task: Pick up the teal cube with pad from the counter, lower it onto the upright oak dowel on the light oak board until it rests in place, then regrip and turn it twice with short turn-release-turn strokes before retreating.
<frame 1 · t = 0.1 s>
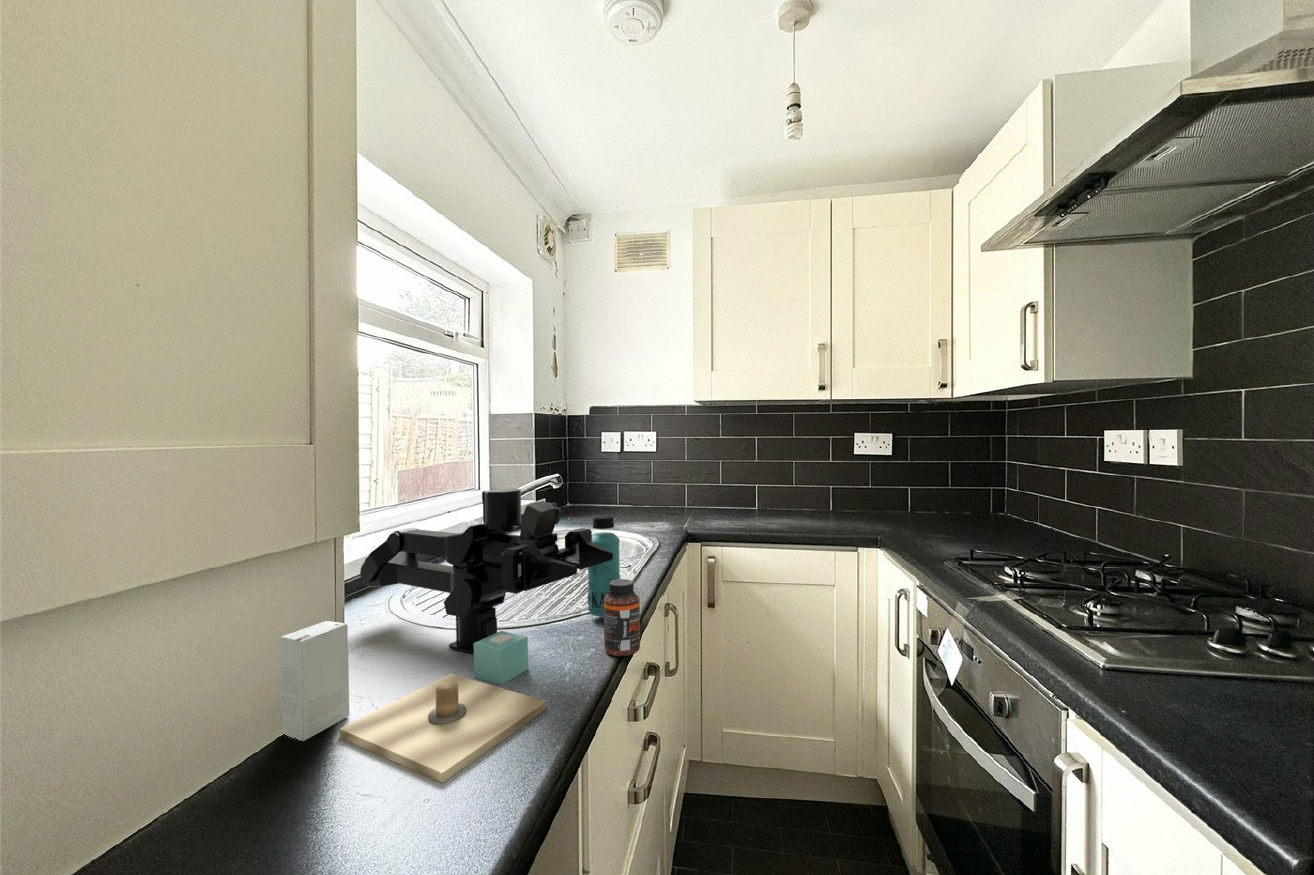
hand: (595, 563, 76), 17 cm above the countertop, tool horizontal, fingers open, 9 cm apart
supplement bottle: (622, 651, 84), on the countertop
beverage bottle: (604, 620, 99), on the countertop
skincare box: (316, 728, 63), on the countertop
teal cube with pad: (501, 673, 77), on the countertop
post board: (447, 722, 64), on the countertop
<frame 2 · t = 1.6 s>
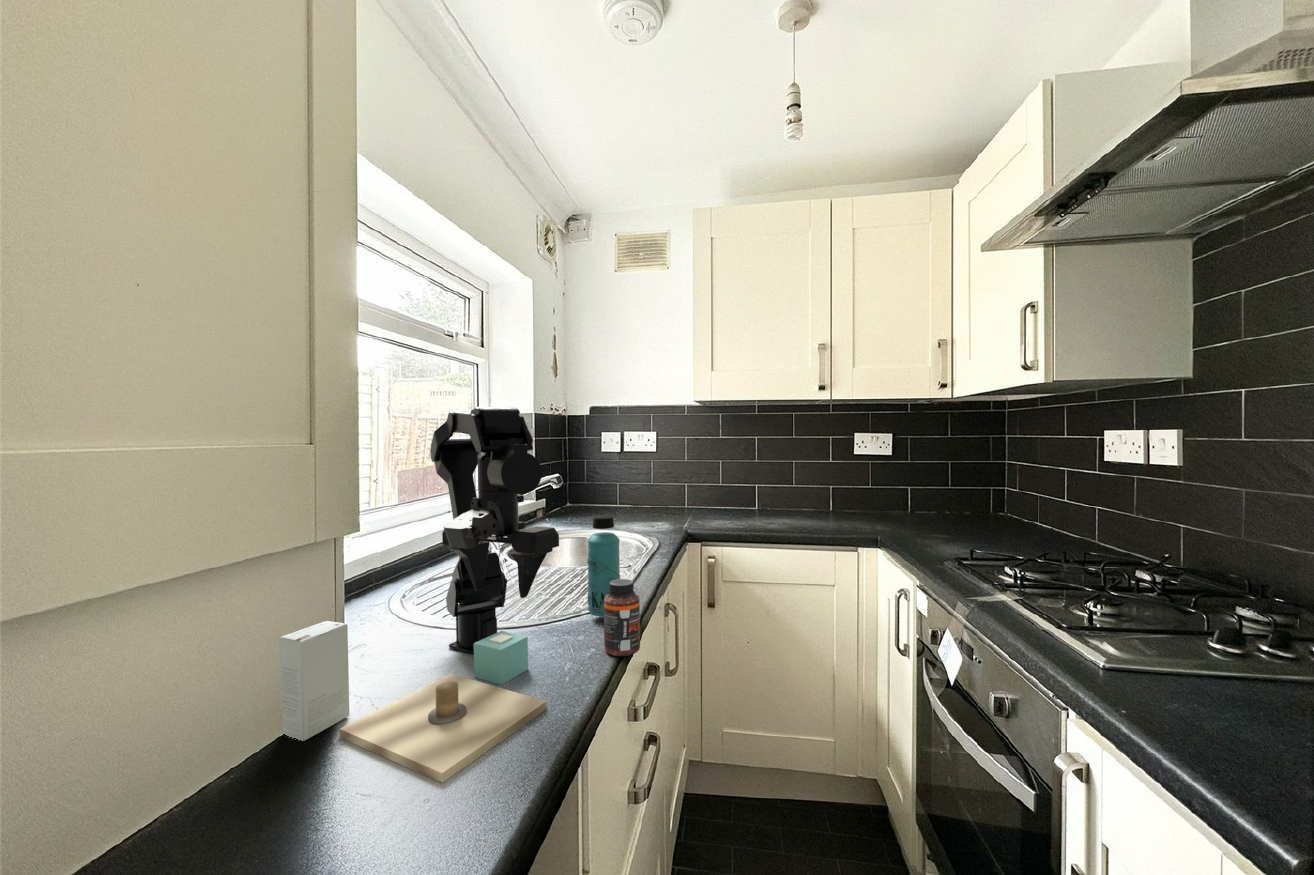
hand: (500, 593, 77), 12 cm above the countertop, tool pointing down, fingers open, 9 cm apart
nothing on the countertop moved.
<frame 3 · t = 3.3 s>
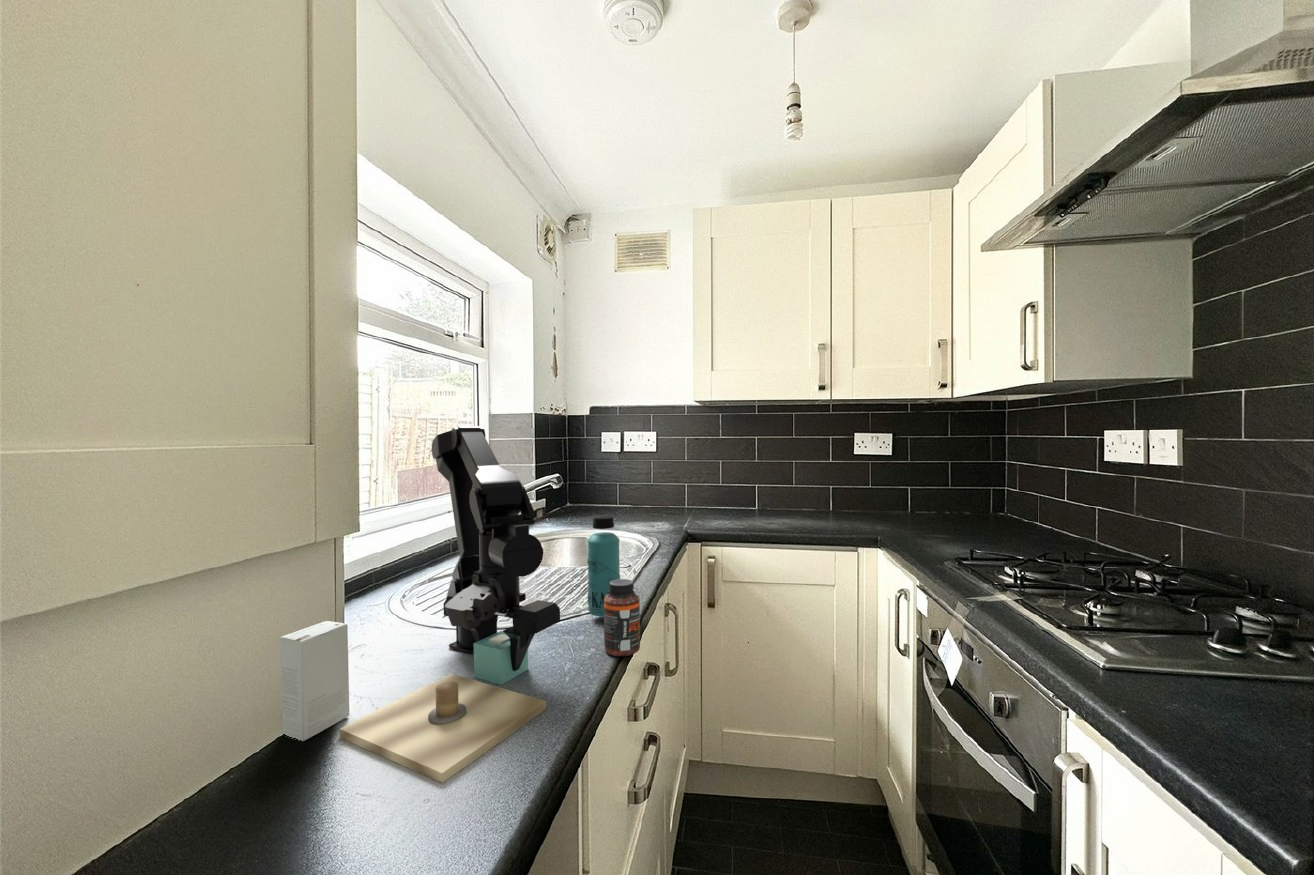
hand: (501, 666, 77), 1 cm above the countertop, tool pointing down, fingers closed on teal cube with pad, 5 cm apart
teal cube with pad: (501, 673, 77), on the countertop, touching gripper
everything else where it was.
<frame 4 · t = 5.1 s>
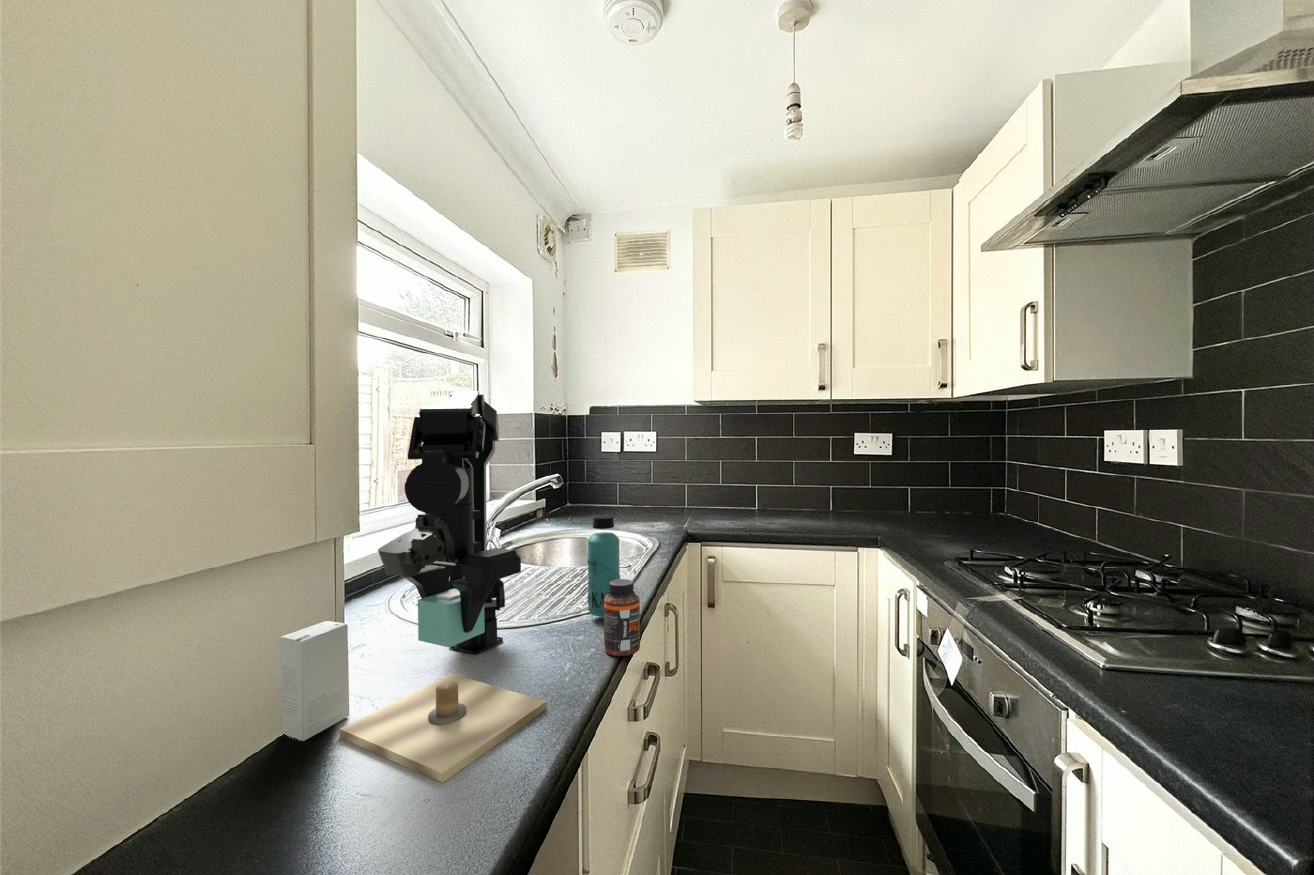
hand: (451, 628, 64), 11 cm above the countertop, tool pointing down, fingers closed on teal cube with pad, 5 cm apart
teal cube with pad: (452, 636, 64), point 10 cm above the countertop, touching gripper
everything else where it was.
when the fingers open (3 cm above the countertop, at t = 6.9 s): teal cube with pad stays where it is, resting on post board.
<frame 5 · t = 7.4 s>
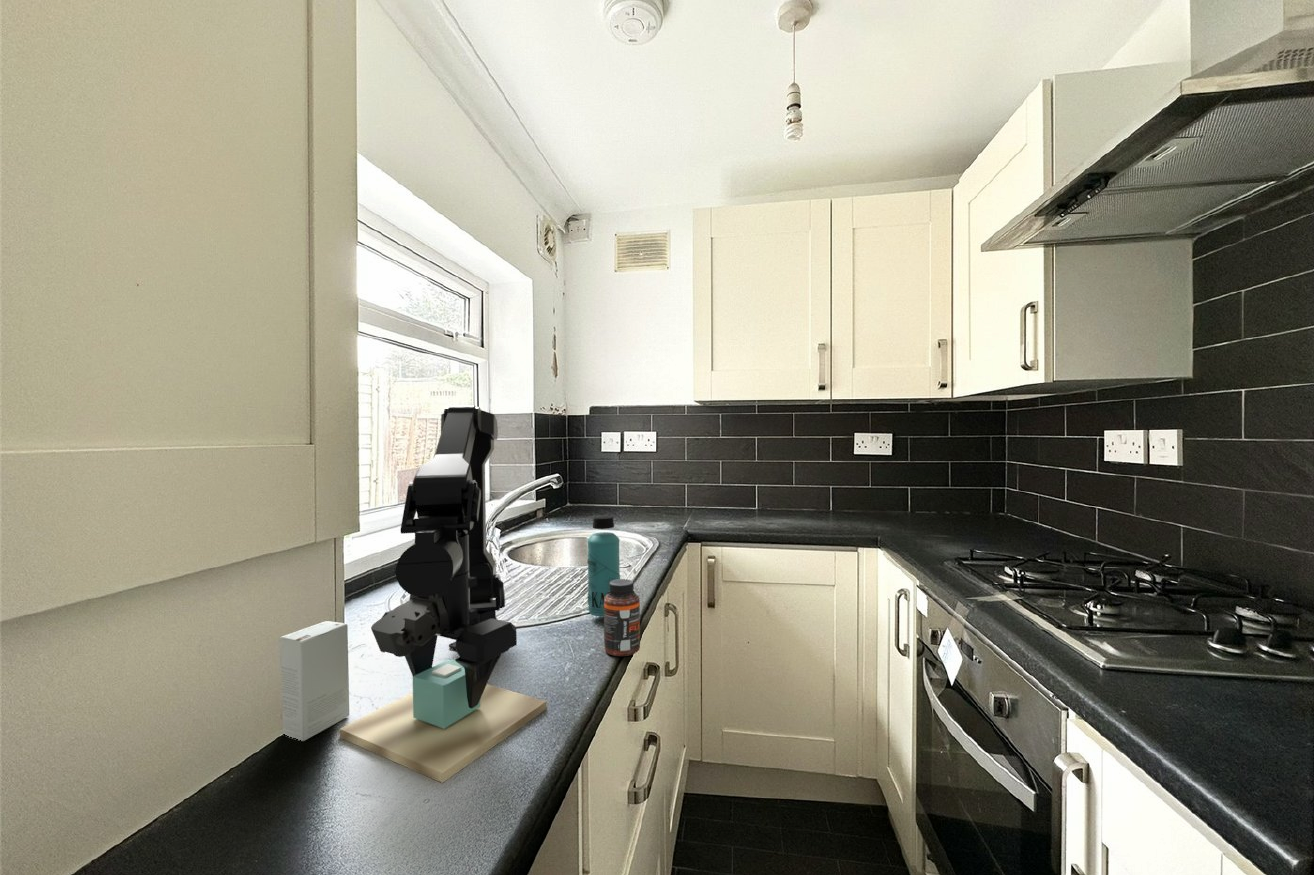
hand: (447, 698, 64), 3 cm above the countertop, tool pointing down, fingers open, 9 cm apart
teal cube with pad: (447, 711, 64), point 1 cm above the countertop, touching post board
everything else where it was.
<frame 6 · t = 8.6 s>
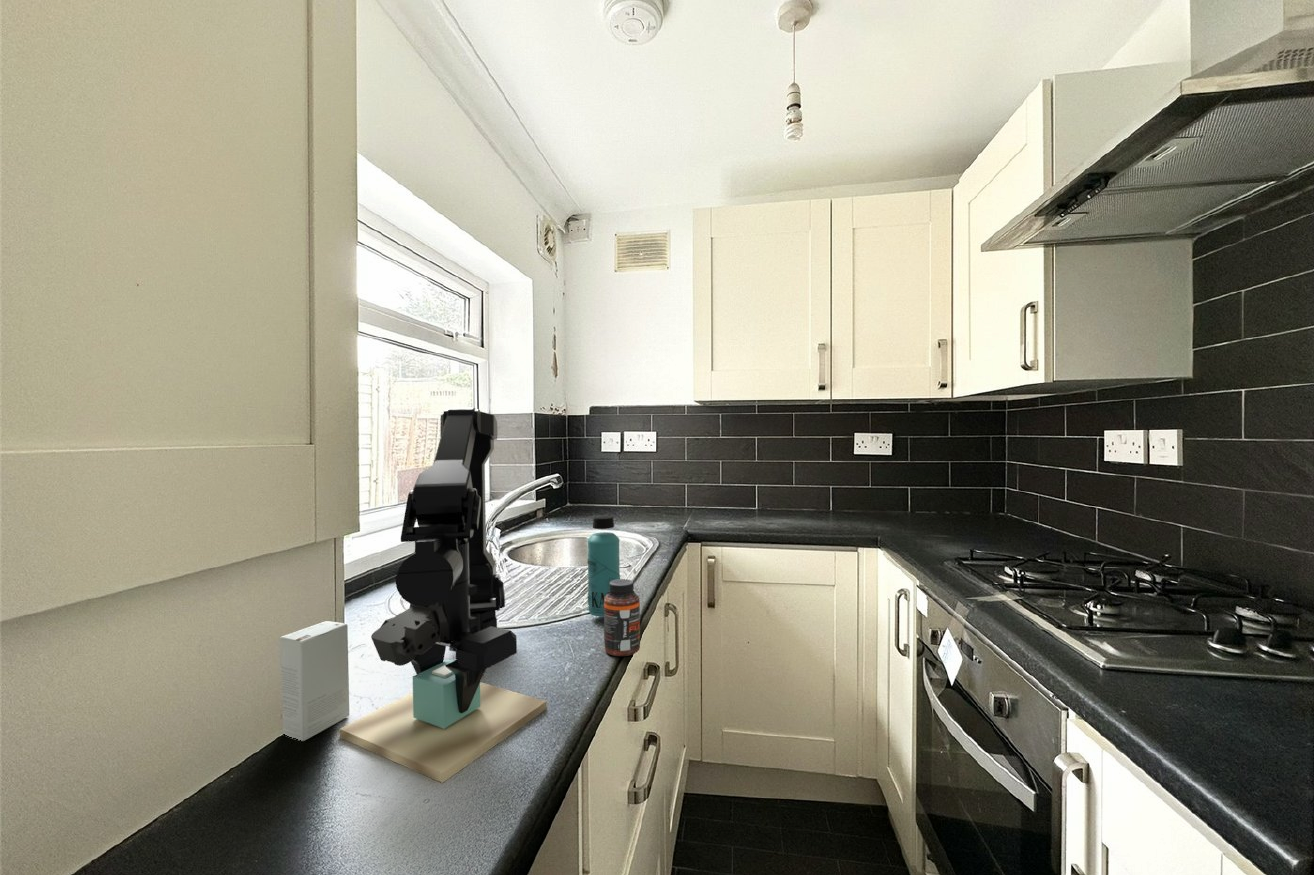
hand: (447, 706, 64), 2 cm above the countertop, tool pointing down, fingers closed on teal cube with pad, 5 cm apart
teal cube with pad: (447, 712, 64), point 1 cm above the countertop, touching gripper, post board
everything else where it was.
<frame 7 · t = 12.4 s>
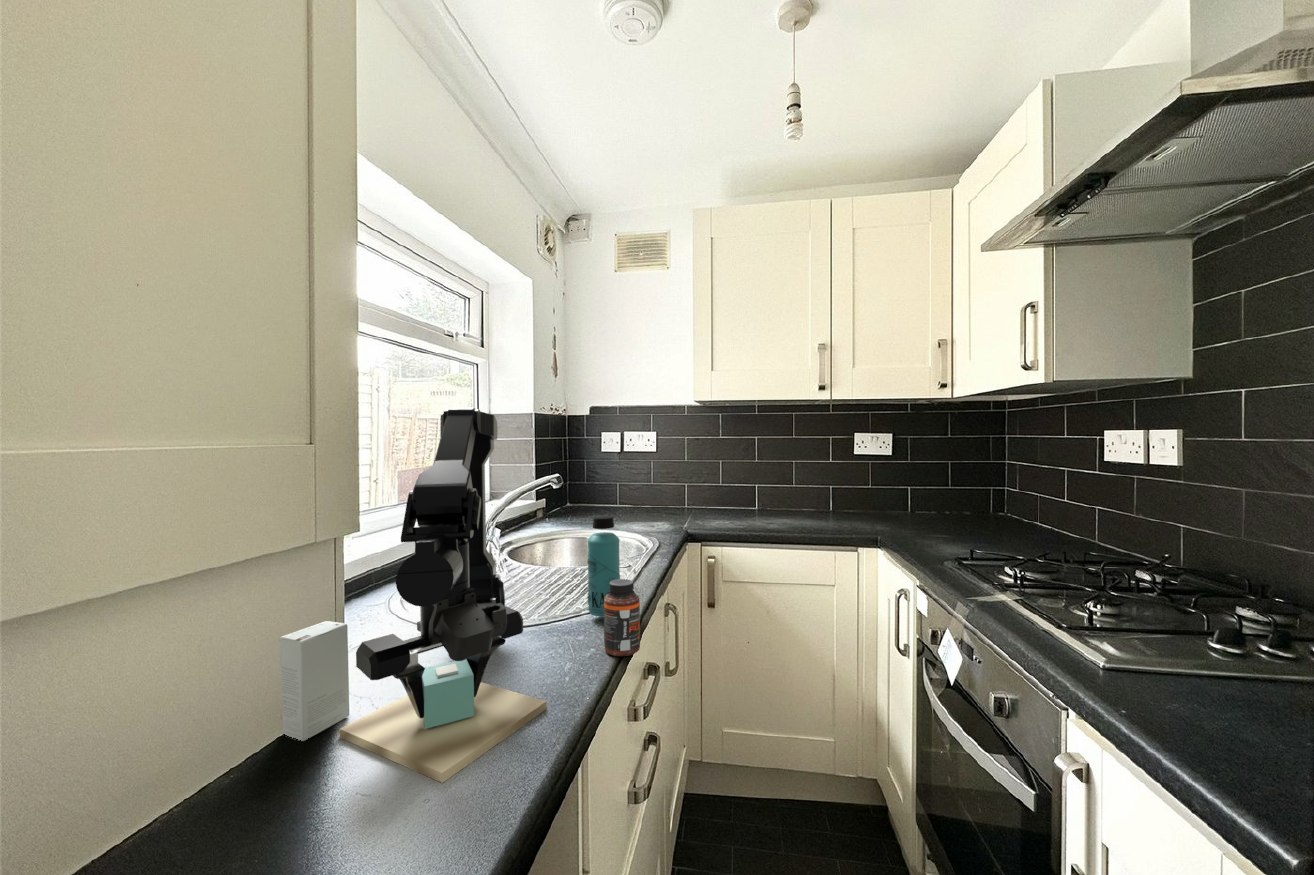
hand: (447, 706, 64), 2 cm above the countertop, tool pointing down, fingers closed on teal cube with pad, 6 cm apart
teal cube with pad: (447, 711, 64), point 1 cm above the countertop, touching gripper
everything else where it was.
when the fingers open (2 cm above the countertop, at t = 12.6 s): teal cube with pad stays where it is, resting on post board.
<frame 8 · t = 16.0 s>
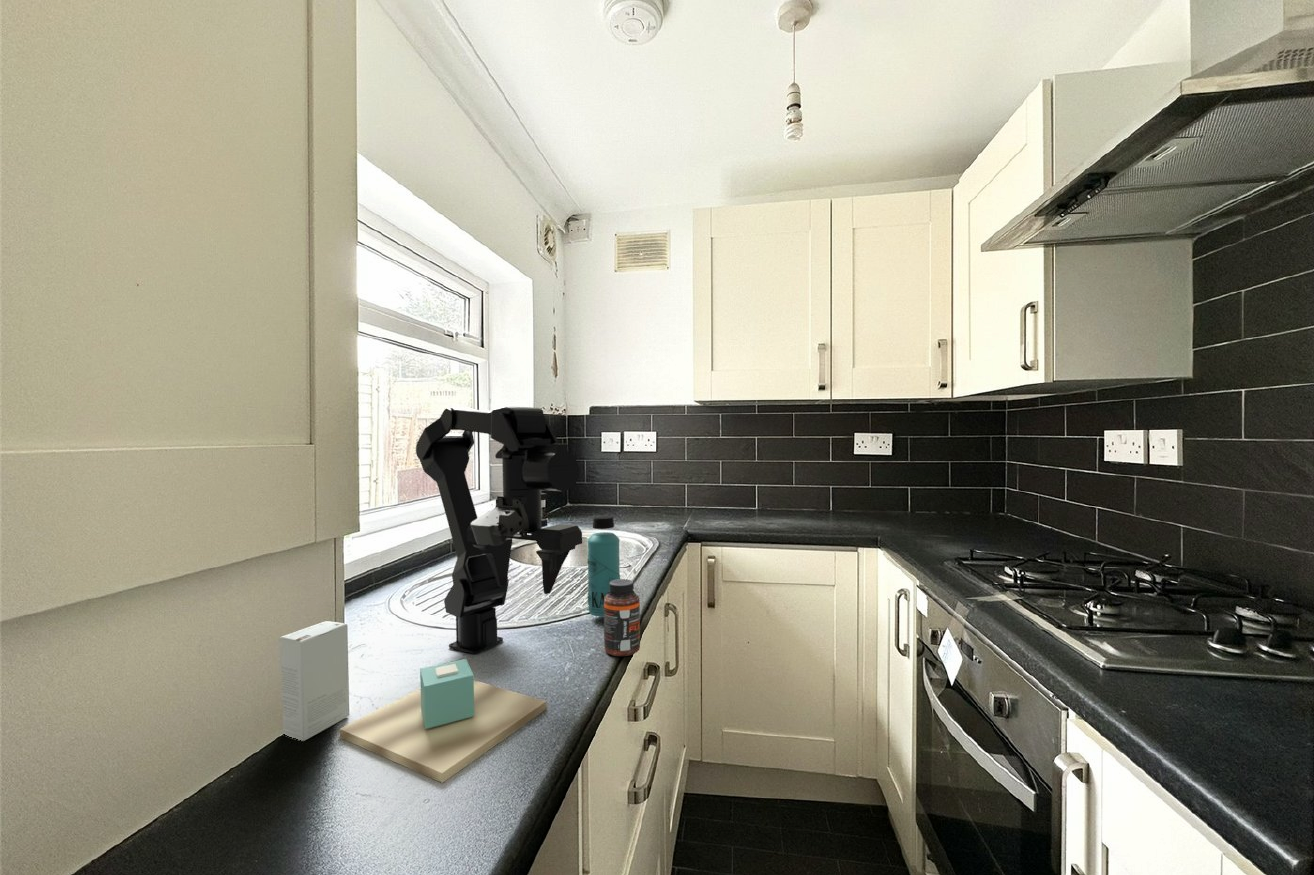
hand: (524, 589, 79), 12 cm above the countertop, tool pointing down, fingers open, 9 cm apart
teal cube with pad: (447, 712, 64), point 1 cm above the countertop, touching post board
everything else where it was.
at the end: teal cube with pad 0.0 cm from the post board (horizontally); teal cube with pad point 1.3 cm above the countertop; the gripper is holding nothing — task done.
